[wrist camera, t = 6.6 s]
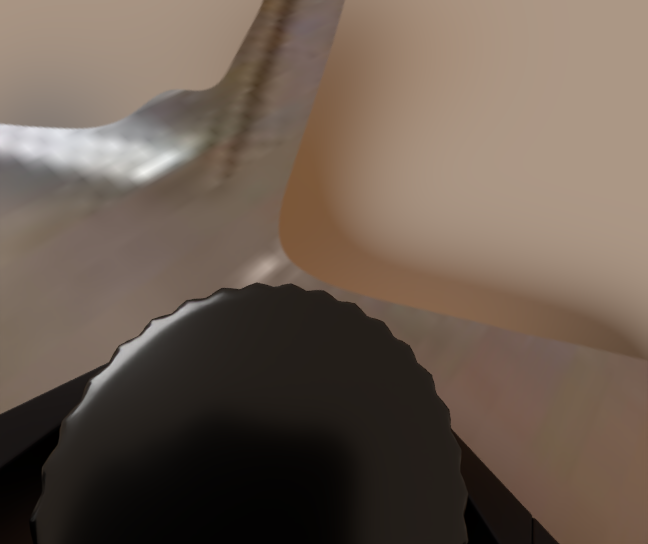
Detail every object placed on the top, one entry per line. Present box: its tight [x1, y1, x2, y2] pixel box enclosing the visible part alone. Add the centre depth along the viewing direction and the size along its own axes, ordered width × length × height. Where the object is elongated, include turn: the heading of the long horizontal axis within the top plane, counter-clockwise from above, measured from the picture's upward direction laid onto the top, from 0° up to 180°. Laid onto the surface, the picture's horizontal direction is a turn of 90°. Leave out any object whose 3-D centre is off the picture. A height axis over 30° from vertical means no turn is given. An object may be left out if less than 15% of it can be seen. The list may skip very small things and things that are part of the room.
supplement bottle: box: [29, 283, 469, 544], centre depth 9 cm, size 7×7×12 cm
